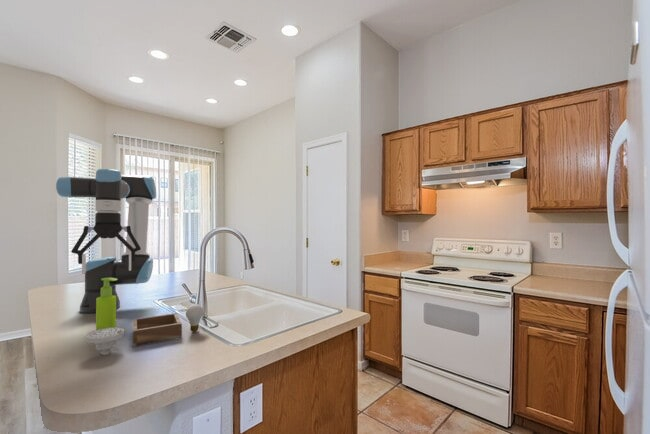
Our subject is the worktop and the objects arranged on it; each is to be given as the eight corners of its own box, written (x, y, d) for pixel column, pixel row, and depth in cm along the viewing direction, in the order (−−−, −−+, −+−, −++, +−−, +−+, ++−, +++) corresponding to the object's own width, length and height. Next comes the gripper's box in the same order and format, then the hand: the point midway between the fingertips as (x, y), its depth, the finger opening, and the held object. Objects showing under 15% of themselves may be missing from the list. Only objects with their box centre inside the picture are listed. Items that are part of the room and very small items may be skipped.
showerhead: (111, 335, 91) (78, 335, 91) (111, 360, 91) (77, 360, 91) (132, 324, 100) (102, 324, 101) (132, 347, 100) (101, 347, 101)
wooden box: (132, 333, 113) (132, 319, 113) (176, 326, 121) (176, 313, 121) (132, 346, 101) (132, 331, 101) (181, 338, 108) (181, 323, 108)
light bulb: (182, 332, 114) (183, 304, 114) (198, 327, 118) (198, 301, 119) (190, 336, 110) (190, 307, 110) (206, 331, 114) (206, 304, 115)
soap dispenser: (108, 337, 109) (108, 279, 109) (91, 336, 110) (92, 279, 110) (122, 331, 114) (122, 276, 115) (106, 330, 116) (106, 276, 116)
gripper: (61, 211, 103) (60, 276, 103) (148, 212, 116) (148, 270, 116) (65, 212, 109) (64, 273, 109) (147, 213, 122) (147, 267, 122)
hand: (107, 271), depth 112 cm, fingers open, 13 cm apart
